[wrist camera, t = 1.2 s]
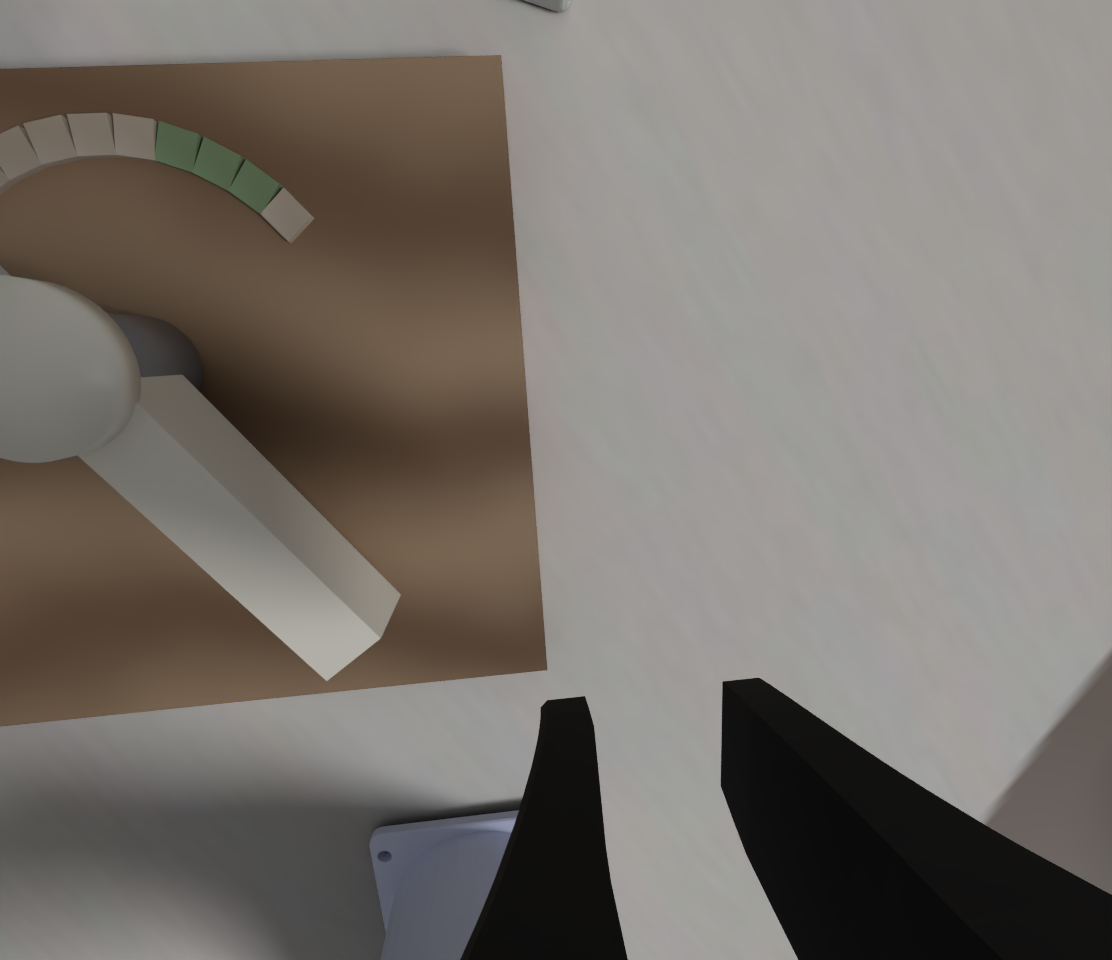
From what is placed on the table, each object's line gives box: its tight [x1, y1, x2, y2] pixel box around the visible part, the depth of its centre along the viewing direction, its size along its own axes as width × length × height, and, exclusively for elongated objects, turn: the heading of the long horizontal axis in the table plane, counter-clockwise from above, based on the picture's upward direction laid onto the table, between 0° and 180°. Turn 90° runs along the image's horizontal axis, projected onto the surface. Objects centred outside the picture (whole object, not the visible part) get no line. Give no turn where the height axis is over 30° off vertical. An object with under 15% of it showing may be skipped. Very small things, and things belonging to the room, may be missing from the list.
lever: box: [0, 266, 401, 681], centre depth 12 cm, size 15×4×4 cm, turn 39°
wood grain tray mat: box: [0, 55, 547, 726], centre depth 15 cm, size 18×20×1 cm
